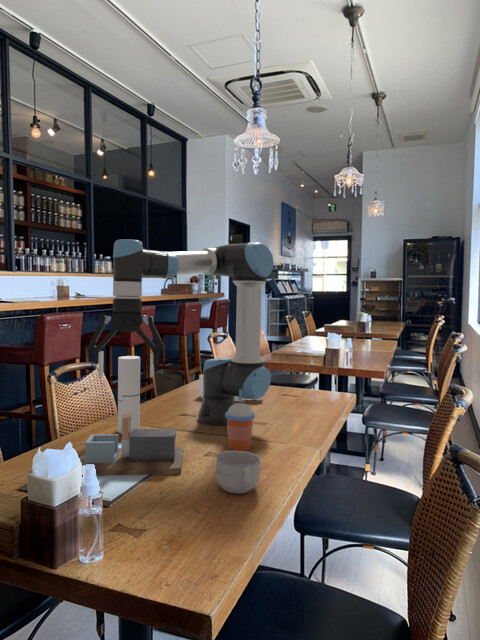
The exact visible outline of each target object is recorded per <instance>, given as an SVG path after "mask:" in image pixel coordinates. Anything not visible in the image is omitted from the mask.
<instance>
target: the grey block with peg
mask: <svg viewBox="0 0 480 640" xmlns="http://www.w3.org/2000/svg"><path fill="white" fill-rule="evenodd" d="M130 434H131V413H125V414H124V416H123V417H122V433H121V443H120V444H121V446H120V448H121V457H129V436H130Z"/></svg>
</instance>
